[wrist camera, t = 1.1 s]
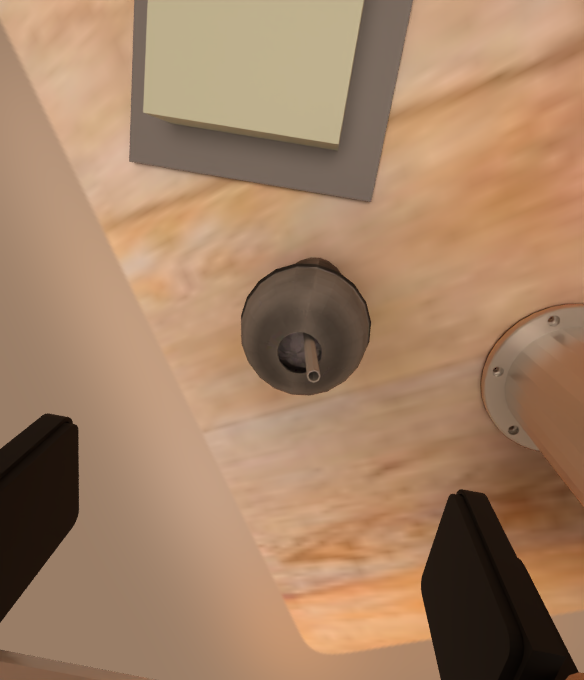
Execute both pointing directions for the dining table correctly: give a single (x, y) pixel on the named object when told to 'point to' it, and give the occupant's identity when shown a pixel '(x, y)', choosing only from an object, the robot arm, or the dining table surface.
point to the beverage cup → (305, 327)
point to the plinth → (282, 156)
